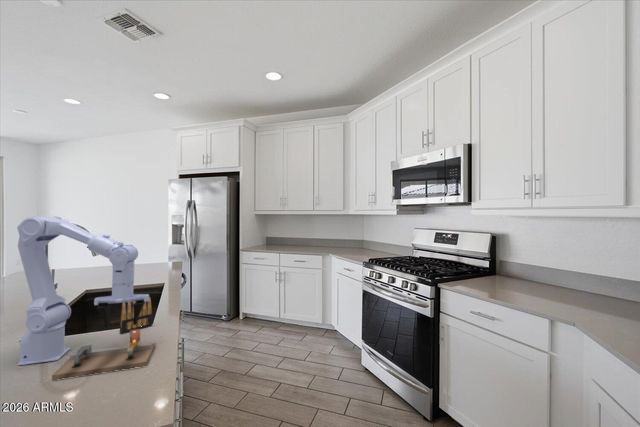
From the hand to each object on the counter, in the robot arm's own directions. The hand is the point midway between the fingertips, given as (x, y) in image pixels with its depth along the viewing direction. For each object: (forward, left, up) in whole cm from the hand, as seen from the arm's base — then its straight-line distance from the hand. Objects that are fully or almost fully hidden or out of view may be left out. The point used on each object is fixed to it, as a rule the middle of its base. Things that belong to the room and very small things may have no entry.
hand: (121, 325), depth 90 cm
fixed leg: (-8, -5, -8) cm, 13 cm away
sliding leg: (+5, -5, -7) cm, 10 cm away
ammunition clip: (0, +21, -10) cm, 23 cm away
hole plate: (-1, -5, -9) cm, 11 cm away
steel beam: (-1, -3, -8) cm, 8 cm away
